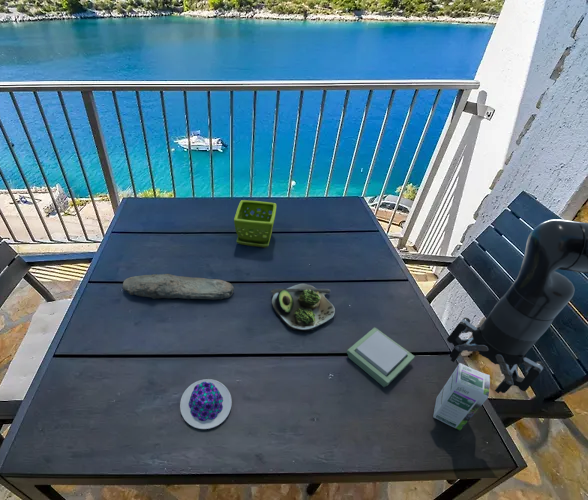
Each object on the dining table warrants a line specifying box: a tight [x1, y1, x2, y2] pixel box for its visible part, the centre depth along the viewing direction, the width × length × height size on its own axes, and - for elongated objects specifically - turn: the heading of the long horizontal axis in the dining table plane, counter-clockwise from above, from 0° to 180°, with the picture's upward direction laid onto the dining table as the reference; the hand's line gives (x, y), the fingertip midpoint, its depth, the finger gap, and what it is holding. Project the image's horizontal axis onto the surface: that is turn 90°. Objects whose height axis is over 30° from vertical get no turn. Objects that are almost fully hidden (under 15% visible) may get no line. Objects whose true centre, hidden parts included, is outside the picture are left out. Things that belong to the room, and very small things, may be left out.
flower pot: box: [233, 199, 277, 249], centre depth 128 cm, size 14×14×13 cm
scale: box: [346, 326, 416, 388], centre depth 90 cm, size 12×12×3 cm
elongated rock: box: [121, 273, 235, 300], centre depth 109 cm, size 35×5×10 cm
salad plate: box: [269, 283, 336, 332], centre depth 104 cm, size 19×18×5 cm
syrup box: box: [432, 362, 491, 431], centre depth 75 cm, size 6×6×14 cm
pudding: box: [179, 378, 233, 430], centre depth 80 cm, size 12×12×5 cm
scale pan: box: [355, 331, 408, 376], centre depth 89 cm, size 9×9×2 cm
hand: (475, 374), depth 70 cm, fingers open, 8 cm apart
